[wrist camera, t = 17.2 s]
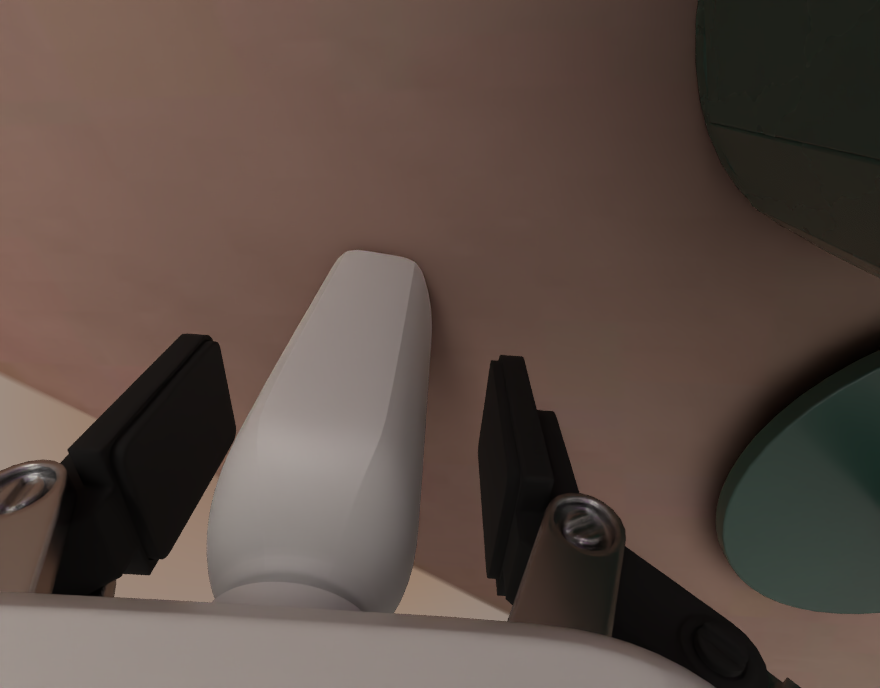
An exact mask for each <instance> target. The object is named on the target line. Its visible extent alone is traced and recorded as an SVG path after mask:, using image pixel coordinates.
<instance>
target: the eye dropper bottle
mask: <svg viewBox="0 0 880 688" xmlns="http://www.w3.org/2000/svg"><path fill="white" fill-rule="evenodd" d="M431 339H432V315H431V305H430V299H429V294H428V289H427V285H426V281H425V278H424V276H423V273H422V270H421V269H420V268H419V266H418V265H417V264H416V262H414V261H412V260H410V259H408V258H405V257H400V256H395V255H389V254H383V253H377V252H371V251H363V250H352V251H346V252H345V253H344V254H342V255H341V256H340V257H339V258H338V259H337V261H336V262H335V264H334V265H333V267H332V268H331V270H330V272H329V273H328V275H327V277H326V279H325V280H324V282H323V284H322V285H321V287H320V289H319V291H318V292H317V294H316V296H315V297H314V299H313V301H312V303H311V304H310V306H309V308H308V310H307V311H306V313H305V315H304V316H303V318H302V320H301V322H300V323H299V325H298V327H297V329H296V330H295V332H294V334H293V336H292V337H291V339H290V341H289V343H288V344H287V346H286V348H285V350H284V351H283V353H282V355H281V356H280V358H279V360H278V362H277V363H276V365H275V367H274V369H273V370H272V372H271V374H270V376H269V377H268V379H267V381H266V383H265V385H264V386H263V388H262V390H261V392H260V394H259V396H258V397H257V399H256V401H255V403H254V405H253V407H252V409H251V410H250V412H249V414H248V416H247V418H246V420H245V421H244V423H243V425H242V427H241V429H240V431H239V433H238V434H237V436H236V439H235V441H234V443H233V445H232V447H231V450H230V452H229V454H228V456H227V458H226V461H225V463H224V465H223V468H222V471H221V473H220V476H219V479H218V483H217V486H216V488H215V492H214V496H213V500H212V504H211V509H210V515H209V522H208V531H207V562H208V574H209V579H210V584H211V588H212V592H213V595H214V597H215V600H214V601H213V602H212V603H228V604H245V605H263V606H280V607H297V608H314V609H331V610H347V611H363V612H379V613H394V612H395V610H396V608H397V607H398V605H399V603H400V601H401V599H402V597H403V594H404V592H405V589H406V587H407V584H408V581H409V578H410V575H411V571H412V568H413V563H414V558H415V552H416V546H417V537H418V527H419V513H420V499H421V485H422V472H423V457H424V443H425V428H426V413H427V399H428V384H429V369H430V354H431Z"/></svg>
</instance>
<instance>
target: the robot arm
mask: <svg viewBox="0 0 880 688" xmlns="http://www.w3.org/2000/svg"><path fill="white" fill-rule="evenodd" d="M235 435H236V425H235V420H234V415H233V410H232V405H231V400H230V394H229V389H228V384H227V379H226V374H225V369H224V364H223V359H222V354H221V349H220V346H219V344H218V342H214V341H213V340H212V338H211V337H210V336H209V335H198V334H182V335H181V336H180V337H179V338H178V339H177V340H176V341H175V342H174V343H173V344H172V345H171V346H170V347H169V348H168V349H167V350H166V351H165V352H164V353H163V354H162V355H161V356H160V357H159V358H158V359H157V360H156V361H155V362H154V363H153V364H152V365H151V366H150V367H149V368H148V369H147V370H146V371H145V372H144V373H143V374H142V375H141V376H140V377H139V378H138V379H137V380H136V381H135V382H134V383H133V384H132V385H131V386H130V387H129V388H128V389H127V390H126V391H125V392H124V393H123V394H122V395H121V396H120V397H119V398H118V399H117V400H116V401H115V402H114V403H113V404H112V405H111V406H110V407H109V408H108V409H107V410H106V411H105V412H104V413H103V414H102V415H101V416H100V417H99V418H98V419H97V420H96V421H95V422H94V423H93V424H92V425H91V426H90V427H89V428H88V429H87V430H86V431H85V432H84V433H83V434H82V436H81V437H79V439H77V441H75V442H74V443H73V445H72V446H71V447H70V448H69V449H68V452H69V454H68V455H67V456H66V457H65V459H64V460H63V461H62V462H61V463H58V462H56V461H51V460H35V461H28V462H24V463H20V464H17V465H13V466H11V467H9V468H6V469H4V470H1V471H0V688H801V687H799V686H798V685H797V684H795V683H794V682H793V681H791V680H790V679H789V678H788V677H787V678H786V679H785V681H784V682H781V681H780V680H779V679H777V678H776V677H775V676H773V675H772V674H771V673H770V672H768V671H767V669H766V664H765V663H764V661H763V659H762V657H761V655H760V653H759V651H758V649H757V648H756V647H755V645H754V644H753V643H752V642H751V641H750V639H749V638H748V637H747V636H746V634H744V633H743V632H742V631H741V630H740V629H739V628H737V627H736V626H735V625H734V624H733V623H731V622H730V621H729V620H727V619H726V618H724V617H723V616H722V615H720V614H719V613H718V612H716V611H715V610H713V609H712V608H711V607H709V606H708V605H706V604H705V603H704V602H702V601H701V600H699V599H698V598H697V597H695V596H694V595H692V594H691V593H690V592H688V591H687V590H685V589H684V588H683V587H681V586H680V585H678V584H677V583H676V582H674V581H673V580H672V579H670V578H669V577H667V576H666V575H665V574H663V573H662V572H660V571H659V570H658V569H656V568H655V567H653V566H652V565H651V564H649V563H648V562H646V561H645V560H644V559H642V558H641V557H639V556H638V555H637V554H635V553H634V552H632V551H631V550H630V549H628V548H627V547H626V546H625V541H626V536H625V528H624V526H623V524H622V521H621V519H620V518H619V517H618V515H617V514H616V513H615V512H614V510H613V509H611V508H610V507H609V506H608V505H606V504H605V503H604V502H602V501H600V500H598V499H596V498H594V497H592V496H589V495H585V494H581V493H579V490H578V487H577V484H576V480H575V477H574V474H573V470H572V467H571V464H570V460H569V457H568V454H567V450H566V447H565V444H564V440H563V437H562V434H561V430H560V427H559V424H558V420H557V417H556V415H555V413H554V412H553V411H542V410H537V409H536V405H535V401H534V397H533V393H532V389H531V385H530V381H529V377H528V373H527V369H526V365H525V361H524V358H523V357H522V356H507V355H500V357H499V361H495V360H492V361H491V363H490V369H489V376H488V383H487V390H486V397H485V403H484V410H483V417H482V424H481V431H480V437H479V445H478V461H479V475H480V489H481V503H482V517H483V531H484V545H485V559H486V572H487V578H491V579H496V587H497V595H498V596H506V600H507V601H508V602H510V603H511V604H512V605H513V606H512V609H511V612H510V615H509V618H508V621H507V622H506V621H494V620H481V619H469V618H457V617H442V616H426V615H411V614H395V613H379V612H363V611H347V610H331V609H314V608H297V607H280V606H263V605H245V604H228V603H208V602H192V601H174V600H156V599H137V598H136V599H135V598H118V597H114V594H115V588H116V579H118V578H120V577H121V576H122V574H136V575H150V574H151V572H152V570H153V568H154V567H155V565H156V564H157V562H158V560H159V559H164V558H166V557H167V556H168V554H169V553H170V551H171V550H172V548H173V546H174V544H175V543H176V541H177V539H178V537H179V536H180V534H181V532H182V530H183V529H184V527H185V525H186V523H187V522H188V520H189V518H190V516H191V515H192V513H193V511H194V509H195V508H196V506H197V504H198V502H199V501H200V499H201V497H202V495H203V493H204V492H205V490H206V488H207V487H208V485H209V483H210V481H211V480H212V478H213V476H214V475H215V473H216V471H217V469H218V468H219V466H220V464H221V462H222V461H223V459H224V457H225V455H226V454H227V452H228V450H229V448H230V447H231V445H232V443H233V441H234V439H235Z"/></svg>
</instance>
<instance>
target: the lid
mask: <svg viewBox="0 0 880 688" xmlns="http://www.w3.org/2000/svg"><path fill="white" fill-rule="evenodd" d="M716 531H717V536H718V541H719V544H720V546H721V548H722V551H723V553H724V555H725V557H726V559H727V560H728V562H729V564H730V565H731V567H732V568H733V570H734V571H735V572H736V574H737V575H738V576H739V577H740V578H741V579H742V580H743V581H744V582H745V583H746V584H747V585H748V586H750V587H751V588H752V589H754V590H756V591H757V592H759V593H760V594H762V595H763V596H766V597H768V598H770V599H772V600H775V601H777V602H779V603H782V604H786V605H789V606H792V607H796V608H800V609H805V610H811V611H816V612H826V613H837V614H866V613H880V350H879V351H876V352H874V353H872V354H870V355H868V356H866V357H864V358H861V359H859V360H857V361H856V362H854V363H852V364H850V365H848V366H847V367H845V368H843V369H841V370H840V371H838V372H836V373H834V374H833V375H831V376H829V377H827V378H826V379H824V380H823V381H821V382H820V383H818V384H817V385H816V386H814V387H813V388H811V389H810V390H808V391H807V392H805V393H804V394H802V395H801V396H799V397H798V398H797V399H796V400H795V401H793V402H792V403H791V404H790V405H788V406H787V407H786V408H785V409H784V410H782V411H781V412H780V413H779V414H777V415H776V416H775V417H774V418H773V419H772V420H771V421H770V422H769V423H768V424H767V425H766V426H765V427H764V428H763V429H762V430H761V431H760V432H759V433H758V434H757V435H756V436H755V437H754V439H753V440H752V441H751V442H750V443H749V445H748V446H747V447H746V448H745V450H744V451H743V452H742V453H741V455H740V456H739V458H738V459H737V461H736V463H735V464H734V466H733V467H732V469H731V471H730V472H729V474H728V476H727V478H726V481H725V483H724V485H723V487H722V490H721V492H720V496H719V500H718V504H717V508H716Z"/></svg>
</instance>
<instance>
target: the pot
mask: <svg viewBox="0 0 880 688" xmlns="http://www.w3.org/2000/svg"><path fill="white" fill-rule="evenodd" d="M696 71H697V79H698V88H699V96H700V103H701V106H702V110H703V114H704V118H705V122H706V125H707V129H708V133H709V136H710V138H711V141H712V143H713V145H714V147H715V150H716V152H717V154H718V156H719V159H720V161H721V163H722V165H723V167H724V168H725V170H726V171H727V173H728V174H729V176H730V177H731V179H732V180H733V182H734V183H735V185H736V186H737V188H738V189H739V190H740V191H741V192H742V193H743V194H744V195H745V196H746V197H747V198H748V200H749V201H750V202H751V204H752V206H753V207H755V208H756V209H757V210H758V211H759V212H761V213H763V214H764V215H766V216H768V217H769V218H771V219H772V220H773V221H775V222H776V223H778V224H779V225H781V226H783V227H785V228H787V229H789V230H791V231H793V232H794V233H796V234H798V235H799V236H801V237H803V238H804V239H806V240H808V241H809V242H811V243H813V244H814V245H816V246H818V247H819V248H821V249H823V250H824V251H826V252H828V253H830V254H832V255H834V256H836V257H838V258H840V259H842V260H844V261H846V262H848V263H850V264H852V265H854V266H856V267H858V268H860V269H862V270H864V271H866V272H868V273H870V274H872V275H874V276H876V277H878V278H880V0H698V6H697V14H696Z"/></svg>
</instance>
